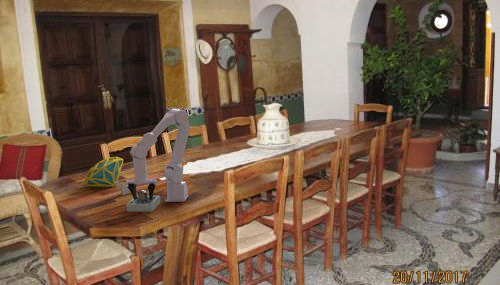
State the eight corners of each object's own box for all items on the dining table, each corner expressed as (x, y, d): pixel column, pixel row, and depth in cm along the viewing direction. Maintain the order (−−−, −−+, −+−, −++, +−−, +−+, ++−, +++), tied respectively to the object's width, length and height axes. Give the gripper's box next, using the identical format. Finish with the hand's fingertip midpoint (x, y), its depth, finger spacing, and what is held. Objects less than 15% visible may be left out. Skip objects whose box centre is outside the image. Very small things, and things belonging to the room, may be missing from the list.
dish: (160, 202, 222) (159, 195, 222) (152, 211, 211) (151, 204, 210) (136, 202, 224) (135, 195, 223) (126, 211, 212) (126, 204, 212)
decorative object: (118, 183, 270) (105, 161, 269) (139, 172, 255) (125, 148, 254) (85, 201, 252) (71, 177, 251) (106, 190, 237) (91, 164, 236)
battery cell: (149, 204, 219) (147, 189, 217) (146, 207, 215) (144, 191, 213) (141, 204, 219) (139, 189, 218) (138, 207, 216) (136, 191, 214)
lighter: (127, 192, 241) (126, 177, 240) (129, 192, 240) (128, 178, 239) (116, 196, 236) (114, 181, 234) (118, 196, 235) (116, 181, 233)
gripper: (122, 173, 211) (125, 202, 214) (152, 173, 209) (155, 201, 212) (127, 169, 218) (130, 197, 220) (157, 169, 216) (160, 196, 219)
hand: (143, 199), depth 217 cm, fingers open, 7 cm apart
